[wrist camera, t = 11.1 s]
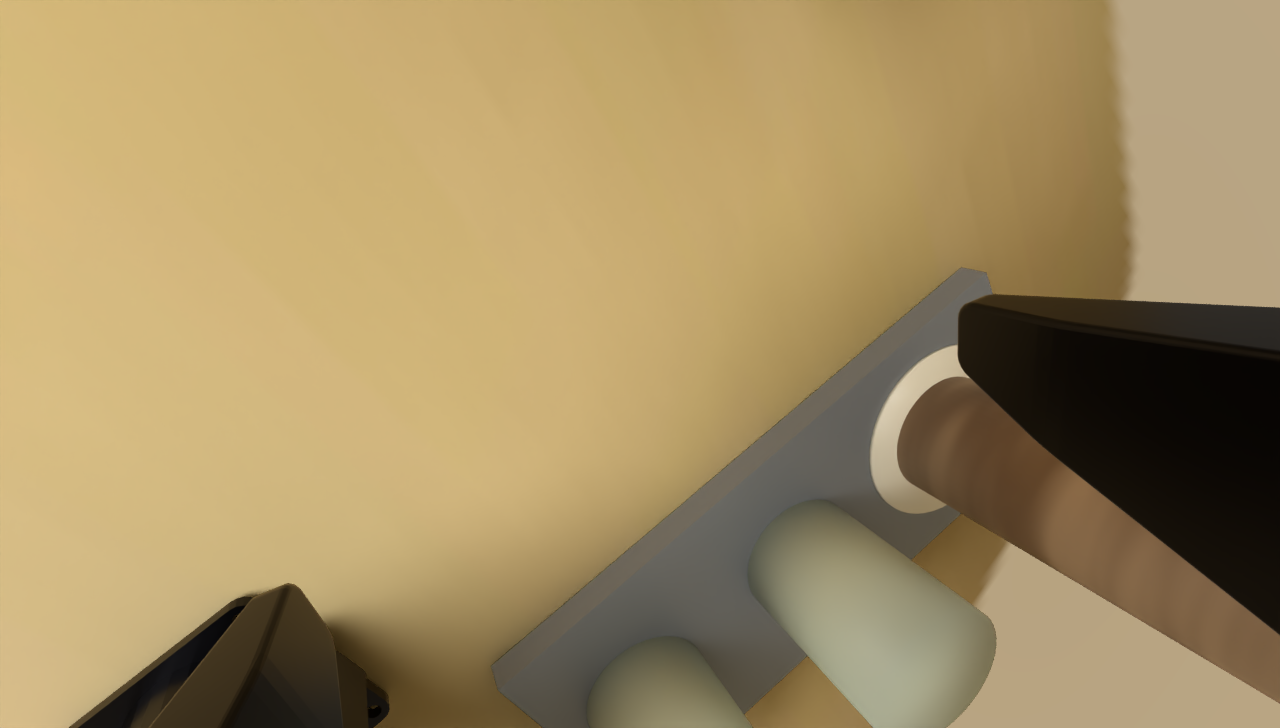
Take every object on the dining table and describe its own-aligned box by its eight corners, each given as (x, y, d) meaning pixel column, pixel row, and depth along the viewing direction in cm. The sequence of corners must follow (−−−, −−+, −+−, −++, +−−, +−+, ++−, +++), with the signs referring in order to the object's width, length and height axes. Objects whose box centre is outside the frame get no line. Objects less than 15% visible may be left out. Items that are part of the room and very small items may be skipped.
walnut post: (896, 503, 28) (1281, 753, 16) (896, 397, 26) (1331, 597, 14) (984, 464, 29) (1390, 667, 18) (990, 361, 27) (1448, 516, 16)
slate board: (630, 784, 28) (643, 813, 27) (491, 666, 24) (499, 694, 22) (1015, 432, 32) (1042, 444, 31) (961, 267, 27) (990, 273, 26)
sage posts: (629, 765, 26) (717, 954, 20) (561, 705, 24) (637, 898, 18) (865, 551, 28) (1011, 665, 22) (823, 475, 26) (973, 579, 20)
